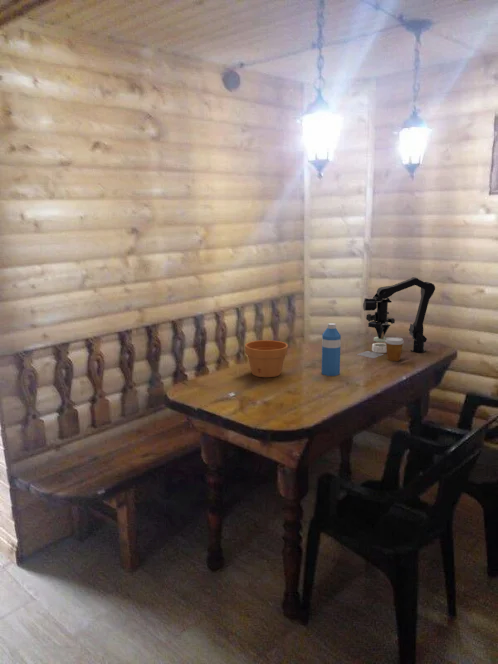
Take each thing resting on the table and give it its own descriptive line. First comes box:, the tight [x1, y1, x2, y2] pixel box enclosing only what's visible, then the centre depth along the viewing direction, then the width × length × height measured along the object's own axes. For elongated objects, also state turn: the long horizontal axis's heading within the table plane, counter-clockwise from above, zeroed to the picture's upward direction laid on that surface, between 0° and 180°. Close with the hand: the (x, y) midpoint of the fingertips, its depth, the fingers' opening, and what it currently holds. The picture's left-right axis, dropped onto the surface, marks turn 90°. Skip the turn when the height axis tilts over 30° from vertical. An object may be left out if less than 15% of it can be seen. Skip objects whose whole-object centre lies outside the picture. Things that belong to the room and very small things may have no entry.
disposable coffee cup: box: [384, 336, 404, 362], centre depth 297 cm, size 10×10×12 cm
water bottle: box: [321, 322, 342, 377], centre depth 274 cm, size 9×9×25 cm
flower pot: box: [244, 339, 289, 378], centre depth 276 cm, size 21×21×15 cm
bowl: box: [371, 342, 387, 354], centre depth 315 cm, size 9×9×4 cm
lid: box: [373, 331, 387, 343], centre depth 314 cm, size 8×8×5 cm
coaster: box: [356, 350, 385, 359], centre depth 308 cm, size 11×11×1 cm
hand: (381, 337), depth 314 cm, fingers closed on lid, 3 cm apart
